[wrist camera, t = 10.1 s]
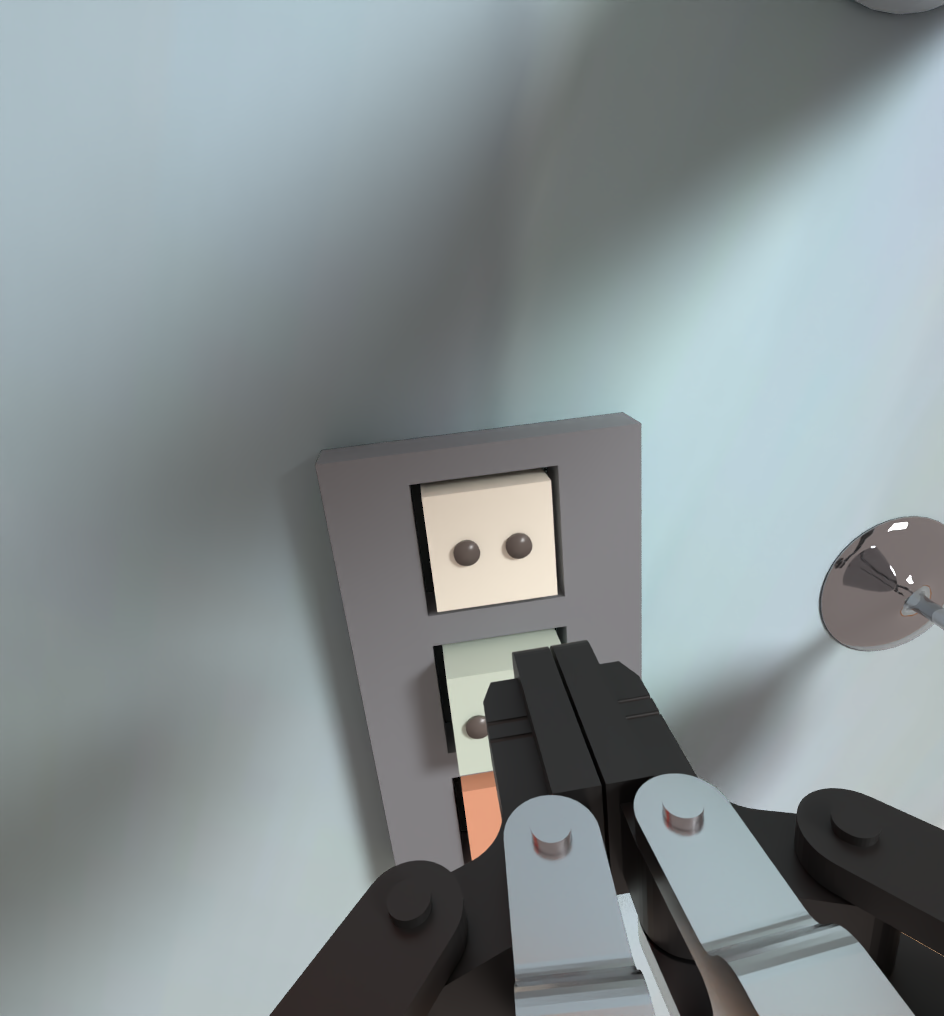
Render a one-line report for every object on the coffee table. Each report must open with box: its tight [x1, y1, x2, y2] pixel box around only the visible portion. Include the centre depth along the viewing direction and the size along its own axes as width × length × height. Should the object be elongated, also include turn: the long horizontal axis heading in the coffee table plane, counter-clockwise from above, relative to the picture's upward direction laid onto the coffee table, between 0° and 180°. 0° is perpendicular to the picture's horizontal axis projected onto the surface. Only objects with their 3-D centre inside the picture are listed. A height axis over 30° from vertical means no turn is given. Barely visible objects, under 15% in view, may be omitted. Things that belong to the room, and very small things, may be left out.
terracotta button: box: [461, 771, 502, 860], centre depth 29 cm, size 5×5×3 cm
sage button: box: [442, 628, 561, 776], centre depth 26 cm, size 5×5×3 cm
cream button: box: [420, 468, 558, 612], centre depth 24 cm, size 5×5×3 cm
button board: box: [315, 412, 641, 872], centre depth 27 cm, size 12×22×2 cm, turn 6°
